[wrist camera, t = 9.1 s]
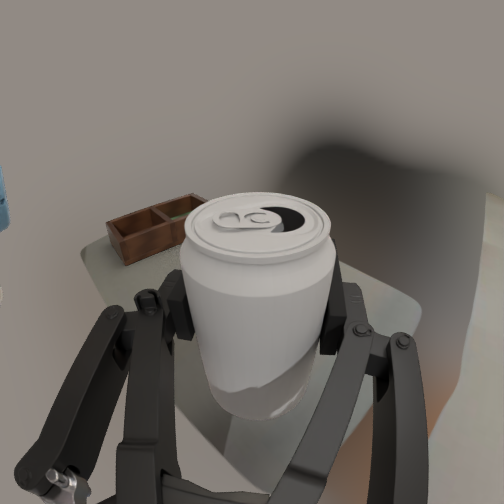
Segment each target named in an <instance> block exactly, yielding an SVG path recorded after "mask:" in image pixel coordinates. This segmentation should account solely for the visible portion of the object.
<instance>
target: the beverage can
mask: <svg viewBox="0 0 504 504" xmlns="http://www.w3.org/2000/svg"><path fill="white" fill-rule="evenodd" d="M330 226H331V223H330V220H329V217H328V216H327V214H326V213H325V212H324V211H323V210H322V209H321V208H319V207H318V206H316V205H314V204H313V203H311V202H309V201H306V200H303V199H301V198H297V197H294V196H290V195H284V194H278V193H268V192H250V193H239V194H232V195H228V196H224V197H220V198H216V199H213V200H211V201H208V202H206V203H204V204H202V205H200V206H199V207H197V208H196V209H194V210H193V211H192V212H191V213H190V214H189V215H188V217H187V218H186V221H185V234H186V238H185V240H184V242H183V244H182V246H181V249H180V263H181V268H182V273H183V279H184V283H185V288H186V293H187V298H188V303H189V307H190V312H191V316H192V321H193V325H194V329H195V333H196V338H197V342H198V346H199V350H200V354H201V358H202V362H203V365H204V369H205V373H206V377H207V380H208V384H209V387H210V391H211V393H212V395H213V397H214V399H215V400H216V401H217V403H218V404H219V405H220V406H221V407H222V408H223V409H225V410H226V411H227V412H229V413H231V414H233V415H235V416H237V417H240V418H243V419H247V420H257V421H259V420H269V419H273V418H277V417H279V416H282V415H284V414H286V413H287V412H289V411H291V410H292V409H293V408H294V407H295V406H296V405H297V404H298V403H299V402H300V401H301V399H302V398H303V396H304V394H305V391H306V388H307V385H308V381H309V378H310V374H311V370H312V366H313V362H314V358H315V354H316V350H317V346H318V342H319V338H320V334H321V329H322V325H323V320H324V316H325V311H326V306H327V301H328V296H329V291H330V286H331V281H332V275H333V270H334V264H335V258H336V250H335V246H334V244H333V242H332V240H331V238H330V236H329V233H330Z"/></svg>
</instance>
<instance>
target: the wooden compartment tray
mask: <svg viewBox="0 0 504 504" xmlns="http://www.w3.org/2000/svg"><path fill="white" fill-rule="evenodd" d="M206 202H208V200H205V199H204V198H202V197H200V196H198V195H195V194H194V193H191V194H188V195H184V196H181V197H178V198H175V199H172V200H168V201H166V202H162V203H159V204H156V205H153V206H150V207H147V208H144V209H141V210H138V211H136V212H133V213H130V214H127V215H124V216H122V217H119V218H116V219H113V220H111V221H108V222H106V227H107V231H108V234H109V238H110V242H111V244H112V245H113V247H114V249H115V250H116V252H117V253H118V255H119V256H120V258H121V259H122V261H123V263H124V264H125V266H127V265H129V264H132V263H134V262H137V261H139V260H141V259H144V258H146V257H149V256H151V255H154V254H156V253H158V252H161V251H163V250H166V249H168V248H171V247H173V246H176V245H178V244H181V243H183V242H184V240H185V238H186V234H185V221H186V218H187V217H188V215H189V214H190V213H191V212H192V211H193V210H194V209H196V208H197V207H199V206H200V205H202V204H204V203H206Z"/></svg>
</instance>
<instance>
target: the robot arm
mask: <svg viewBox="0 0 504 504" xmlns="http://www.w3.org/2000/svg"><path fill="white" fill-rule="evenodd" d="M9 224H10V213H9V208H8V202H7V196H6V190H5V185H4V179H3V173H2V168H1V166H0V232H2V231H3V230H5V229H7V228H8V226H9ZM331 240H332V242H333V244H334V246H335V250H336V244H335V240H334V239H331ZM134 301H135V304H136V307H137V309H138V311H133V312H124V309H123V308H122V307H121V306H118V305H112V306H109V307H107V308H106V309H104V311H103V312H102V313H101V315H100V316H99V318H98V320H97V322H96V323H95V325H94V327H93V328H92V330H91V332H90V334H89V335H88V337H87V339H86V341H85V343H84V344H83V346H82V348H81V350H80V352H79V354H78V356H77V357H76V359H75V361H74V363H73V365H72V367H71V369H70V371H69V373H68V375H67V377H66V379H65V381H64V383H63V385H62V387H61V389H60V391H59V393H58V395H57V397H56V399H55V401H54V404H53V406H52V408H51V410H50V413H49V415H48V417H47V420H46V422H45V424H44V427H43V429H42V432H41V434H40V436H39V439H38V440H37V441H36V442H35V443H34V445H33V446H32V447H31V448H30V449H29V451H28V452H27V453H26V454H25V455H24V456H23V458H22V459H21V460H20V461H19V462H18V464H17V465H16V467H15V470H14V476H15V480H16V482H17V484H18V485H19V486H20V487H21V488H22V489H24V490H26V491H28V492H31V493H33V494H35V495H37V496H39V497H40V498H41V499H42V501H43V502H44V503H45V504H86V498H87V497H88V496H90V494H91V489H90V487H89V486H88V483H87V481H88V479H89V477H90V475H91V473H92V472H93V470H94V467H95V465H96V462H97V459H98V456H99V453H100V450H101V446H102V444H103V441H104V437H105V435H106V432H107V429H108V426H109V423H110V420H111V417H112V414H113V412H114V409H115V406H116V403H117V401H118V398H119V395H120V393H121V389H122V388H123V385H124V382H125V380H126V377H127V375H128V372H129V376H128V385H127V395H126V406H125V419H124V437H123V441H122V442H121V443H119V444H118V446H117V450H116V494H115V495H113V496H111V497H109V498H107V499H105V500H103V501H101V502H99V503H97V504H317V503H318V501H319V499H320V497H321V494H322V493H323V490H324V488H325V486H326V482H327V477H328V474H329V472H330V470H331V467H332V465H333V463H334V460H335V458H336V456H337V453H338V451H339V448H340V446H341V443H342V441H343V438H344V435H345V433H346V430H347V427H348V424H349V422H350V419H351V416H352V413H353V410H354V407H355V404H356V401H357V397H358V394H359V391H360V388H361V384H362V381H363V377H364V374H368V375H371V376H373V440H372V441H373V442H372V457H371V471H370V481H369V490H368V498H367V504H427V500H428V471H429V464H428V436H427V435H428V434H427V420H426V410H425V401H424V393H423V384H422V378H421V371H420V365H419V360H418V353H417V348H416V343H415V341H414V339H413V338H412V337H411V336H410V335H408V334H407V333H403V332H397V333H395V334H393V335H392V336H391V338H390V337H387V336H383V335H380V334H378V333H376V332H375V331H374V329H373V328H372V326H371V325H370V324H369V323H368V319H367V314H366V309H365V305H364V300H363V296H362V291H361V289H360V287H359V286H358V285H357V284H356V283H346V282H342V278H341V272H340V266H339V261H338V255H337V250H336V258H335V264H334V270H333V275H332V281H331V286H330V291H329V296H328V301H327V306H326V311H325V316H324V320H323V325H322V329H321V334H320V355H335V354H336V351H337V358H336V360H335V363H334V366H333V368H332V371H331V373H330V376H329V378H328V381H327V383H326V386H325V388H324V391H323V393H322V396H321V398H320V400H319V403H318V405H317V407H316V410H315V412H314V414H313V416H312V418H311V421H310V423H309V425H308V427H307V429H306V431H305V433H304V436H303V438H302V440H301V442H300V444H299V446H298V448H297V450H296V452H295V454H294V456H293V457H292V459H291V461H290V463H289V465H288V467H287V469H286V470H285V472H284V474H283V476H282V477H281V479H280V481H279V483H278V484H277V486H276V488H275V490H274V491H273V493H272V495H271V496H270V497H269V495H270V494H260V493H251V492H243V491H241V492H220V493H218V492H217V493H215V492H211V491H209V490H207V489H204V488H202V487H200V486H198V485H196V484H194V483H192V482H190V481H188V480H184V479H182V478H181V471H180V467H179V465H178V461H177V450H176V433H175V406H174V340H173V336H174V334H175V332H176V334H177V337H178V339H184V340H190V341H192V338H193V336H194V333H195V329H194V325H193V321H192V316H191V312H190V307H189V303H188V298H187V293H186V288H185V283H184V279H183V273H182V270H176V269H174V270H173V271H172V272H170V273H169V274H168V275H167V277H166V278H165V280H164V282H163V283H162V285H161V286H160V288H159V290H158V291H157V290H154V289H145V290H142V291H140V292H138V293H137V294H136V295H135V297H134Z"/></svg>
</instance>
